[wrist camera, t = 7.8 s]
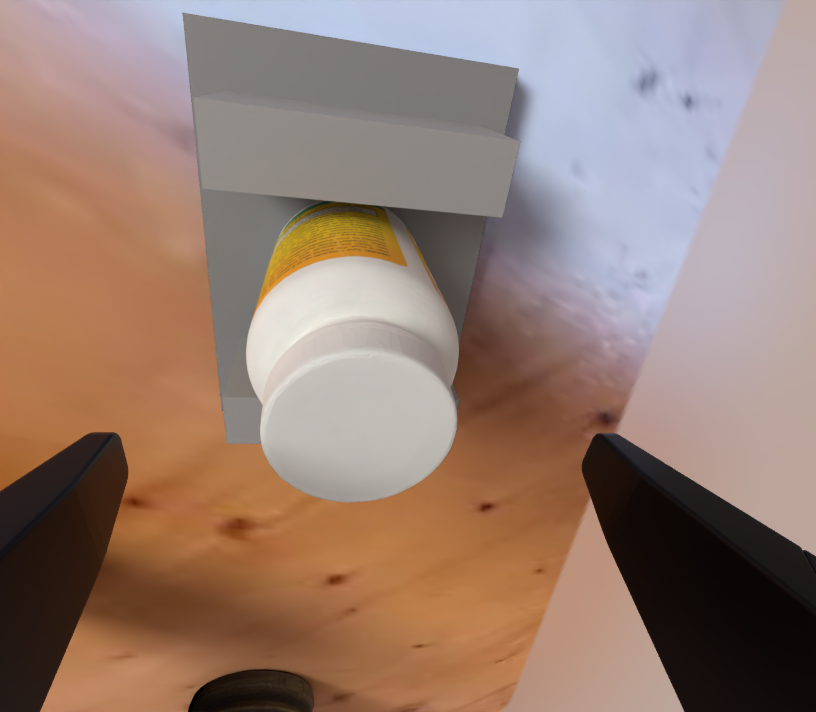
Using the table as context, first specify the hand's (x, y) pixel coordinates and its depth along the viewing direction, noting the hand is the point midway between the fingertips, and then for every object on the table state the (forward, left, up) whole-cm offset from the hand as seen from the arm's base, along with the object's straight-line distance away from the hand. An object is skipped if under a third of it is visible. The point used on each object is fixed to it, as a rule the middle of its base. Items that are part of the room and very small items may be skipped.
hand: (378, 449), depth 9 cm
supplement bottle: (0, 0, -10) cm, 10 cm away
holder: (0, 0, -11) cm, 11 cm away
